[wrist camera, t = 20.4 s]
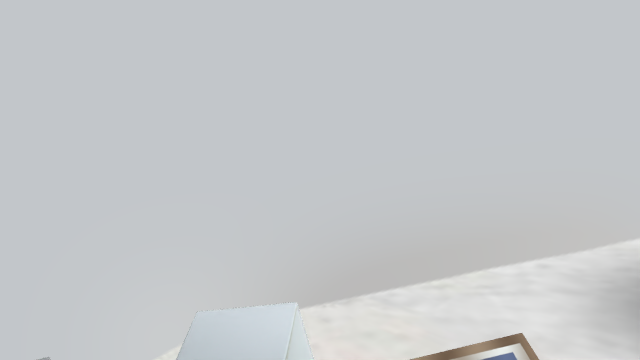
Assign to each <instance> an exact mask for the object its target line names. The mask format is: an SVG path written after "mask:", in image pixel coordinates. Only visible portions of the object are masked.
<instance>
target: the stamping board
mask: <svg viewBox="0 0 640 360" xmlns="http://www.w3.org/2000/svg"><path fill="white" fill-rule="evenodd" d="M411 360H539V359H538V357H537V356H536V354H535V353H534V351H533V349H532V348H531V346H530V345H529V343H528V342H527V340H526V338H525V337H524V335H523V334H522V333H519V334H515V335H511V336H507V337H503V338H498V339H494V340H490V341H486V342H482V343H477V344H473V345H469V346H465V347H461V348H457V349H452V350H448V351H444V352H440V353H436V354H431V355H427V356H423V357H419V358H415V359H411Z"/></svg>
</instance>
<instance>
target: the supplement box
mask: <svg viewBox="0 0 640 360" xmlns="http://www.w3.org/2000/svg"><path fill="white" fill-rule="evenodd" d="M176 360H314V358H313V354H312V351H311V348H310V344H309V341H308V337H307V334H306V331H305V327H304V324H303V321H302V317H301V314H300V310H299V307H298V304H297V303H296V302H292V303H283V304H273V305H263V306H253V307H242V308H232V309H221V310H211V311H199V312H197V313H196V315H195V318H194V320H193V322H192V324H191V327H190V329H189V331H188V334H187V336H186V338H185V340H184V343H183V345H182V347H181V350H180V352H179V354H178V357H177V359H176Z"/></svg>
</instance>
